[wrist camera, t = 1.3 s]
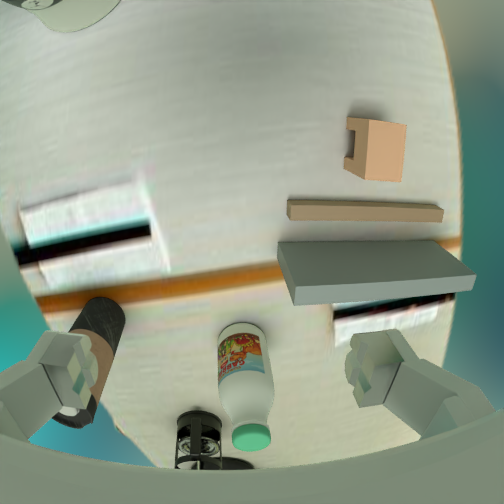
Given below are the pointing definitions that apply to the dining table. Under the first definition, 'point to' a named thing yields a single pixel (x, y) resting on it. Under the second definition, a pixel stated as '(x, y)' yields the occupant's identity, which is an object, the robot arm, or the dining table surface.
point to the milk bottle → (246, 384)
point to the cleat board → (367, 257)
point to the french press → (198, 439)
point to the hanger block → (377, 149)
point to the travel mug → (95, 353)
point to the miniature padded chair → (227, 465)
